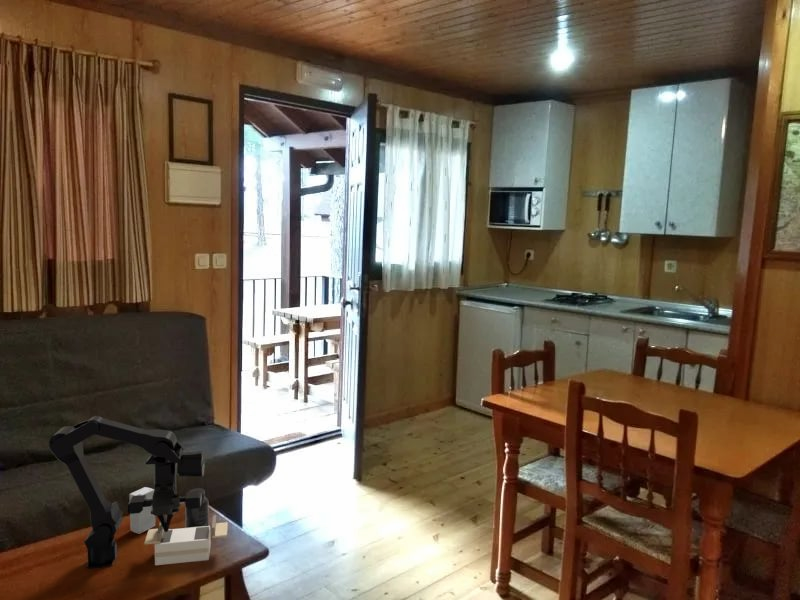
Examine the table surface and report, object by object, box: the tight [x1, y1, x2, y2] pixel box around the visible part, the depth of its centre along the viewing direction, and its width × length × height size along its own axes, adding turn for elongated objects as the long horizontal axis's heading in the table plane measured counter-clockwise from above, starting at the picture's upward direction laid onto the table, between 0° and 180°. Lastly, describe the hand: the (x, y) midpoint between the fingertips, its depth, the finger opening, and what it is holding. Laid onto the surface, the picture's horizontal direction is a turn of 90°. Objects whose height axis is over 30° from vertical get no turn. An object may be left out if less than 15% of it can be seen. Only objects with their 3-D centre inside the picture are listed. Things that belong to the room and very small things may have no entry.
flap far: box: [211, 514, 229, 539], centre depth 175 cm, size 4×8×3 cm, turn 14°
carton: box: [154, 525, 211, 566], centre depth 173 cm, size 14×8×6 cm, turn 104°
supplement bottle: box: [184, 487, 210, 528], centre depth 188 cm, size 7×7×12 cm
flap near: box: [143, 521, 164, 546], centre depth 171 cm, size 4×8×3 cm, turn 14°
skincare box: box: [128, 486, 156, 535], centre depth 187 cm, size 6×4×12 cm
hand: (166, 531), depth 172 cm, fingers closed
